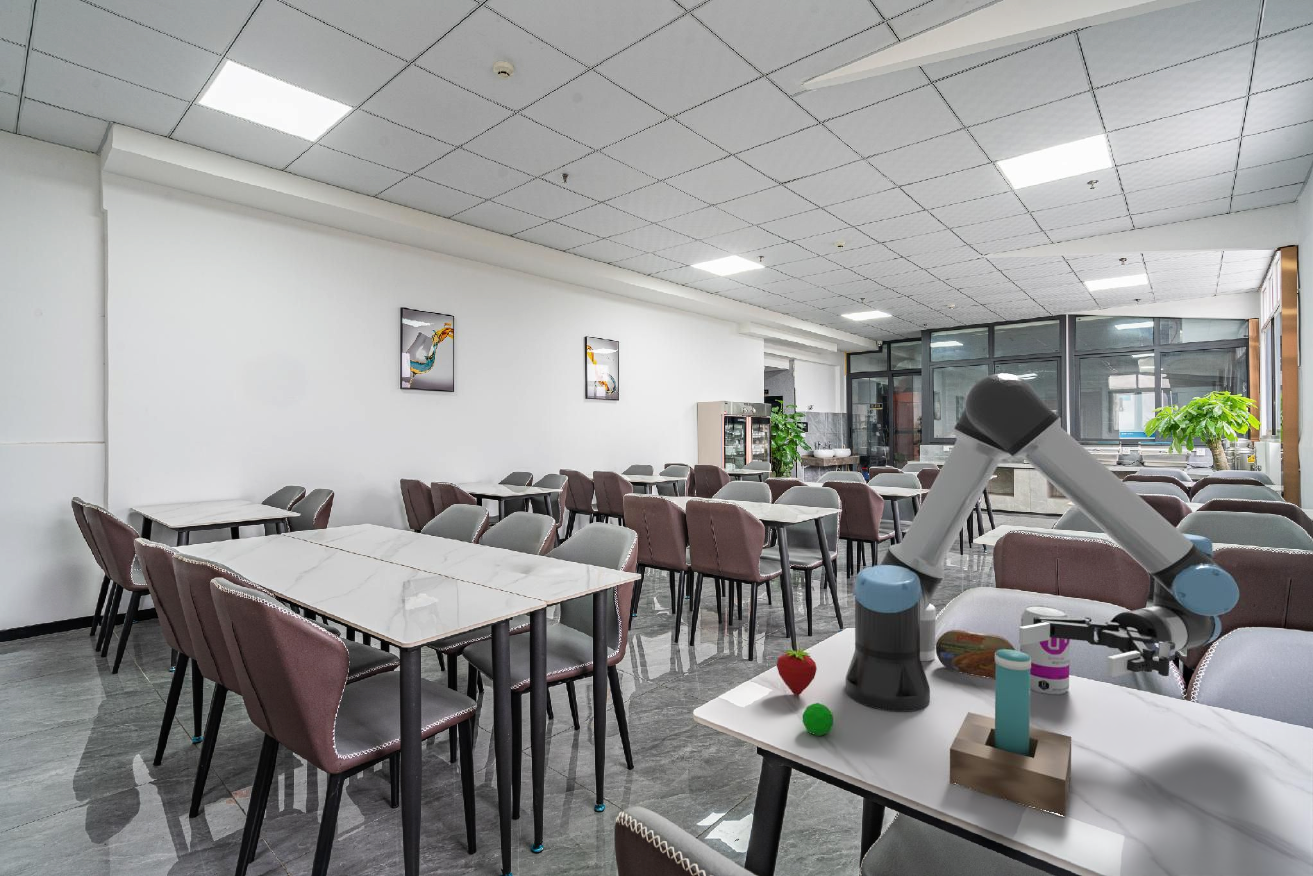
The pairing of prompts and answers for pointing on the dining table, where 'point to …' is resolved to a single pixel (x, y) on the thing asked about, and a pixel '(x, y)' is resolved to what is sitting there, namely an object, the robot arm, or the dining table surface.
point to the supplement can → (1047, 654)
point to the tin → (970, 652)
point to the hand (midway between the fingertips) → (1062, 650)
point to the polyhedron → (818, 719)
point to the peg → (1012, 701)
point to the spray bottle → (927, 634)
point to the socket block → (1012, 765)
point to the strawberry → (796, 670)
